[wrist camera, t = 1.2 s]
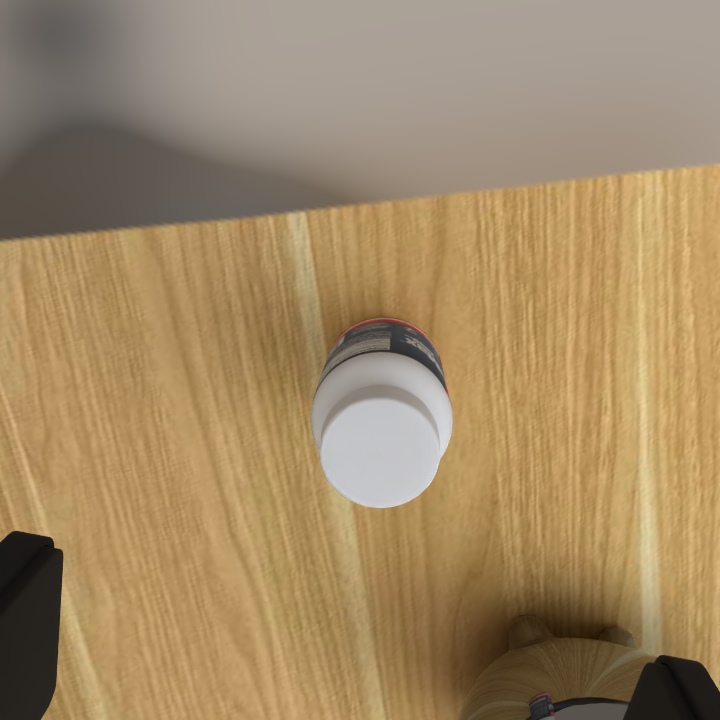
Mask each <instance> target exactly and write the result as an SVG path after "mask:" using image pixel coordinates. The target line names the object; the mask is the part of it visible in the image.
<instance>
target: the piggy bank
mask: <svg viewBox="0 0 720 720" xmlns="http://www.w3.org/2000/svg"><path fill="white" fill-rule="evenodd" d="M508 638H509V646H510V651H509V652H507V653H505V654H504V655H502V656H501V657H499V658H498V659H496V660H495V661H494V662H493V663H491V664H490V665H489V666H488V667H487V668H486V669H485V670H484V671H483V672H482V673H481V675H480V676H479V677H478V678H477V680H476V681H475V682H474V684H473V685H472V687H471V689H470V690H469V692H468V694H467V696H466V698H465V700H464V702H463V704H462V706H461V709H460V711H459V714H458V717H457V720H623V718H624V715H625V713H626V710H627V708H628V705H629V703H630V700H631V698H632V695H633V693H634V690H635V687H636V685H637V682H638V680H639V677H640V675H641V672H642V670H643V668H644V666H645V665H646V664H647V663H650V662H651V663H654V662H655V660H656V658H658V657H656V656H654V655H652V654H649V653H647V652H644V651H642V650H639V647H638V645H637V643H636V641H635V639H634V638H633V636H632V634H631V633H629V632H628V631H627V630H624V629H621V628H610V629H607V630H606V631H604V632H603V633H602V634H601V635H600V637H599V639H598V640H596V639H587V638H555V637H554V636H553V634H552V633H551V632H550V631H549V630H548V628H547V627H546V626H545V625H544V624H543V623H542V622H541V621H540V620H539V619H537V618H536V617H534V616H531V615H522V616H518V617H517V618H515V619H514V620H513V621H512V622H511V624H510V626H509V629H508Z"/></svg>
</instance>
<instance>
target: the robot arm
mask: <svg viewBox="0 0 720 720" xmlns="http://www.w3.org/2000/svg"><path fill="white" fill-rule="evenodd" d="M62 573H63V552H62V550H61V549H57V548H54V542H53V539H52V538H50V537H46V536H41V535H36V534H30V533H25V532H20V531H13V532H11V533H10V534H9V535H7V536H6V537H5V538H4V539H3V540H2V541H1V542H0V720H41V718H42V717H43V715H44V713H45V712H46V710H47V708H48V707H49V705H50V702H51V700H52V697H53V694H54V691H55V687H56V678H57V660H58V643H59V625H60V608H61V590H62ZM623 720H720V692H719V690H718V688H717V687H716V685H715V683H714V682H713V680H712V678H711V677H710V675H709V673H708V672H707V670H706V669H705V667H704V666H703V665H702V664H701V663H699V662H697V661H692V660H687V659H682V658H677V657H671V656H666V655H661V656H659V657H658V658H656V660H655V662H654V663H651V662H650V663H647V664H646V665H645V666H644V668H643V670H642V672H641V675H640V677H639V680H638V682H637V685H636V687H635V690H634V693H633V695H632V698H631V700H630V703H629V705H628V708H627V710H626V713H625V715H624V718H623Z"/></svg>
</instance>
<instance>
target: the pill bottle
mask: <svg viewBox="0 0 720 720" xmlns="http://www.w3.org/2000/svg"><path fill="white" fill-rule="evenodd" d="M311 425H312V431H313V436H314V439H315V442H316V444H317V447H318V449H319V455H320V462H321V466H322V469H323V472H324V474H325V476H326V478H327V480H328V481H329V483H330V484H331V485H332V486H333V488H334V489H335V490H336V491H337V492H338V493H340V494H341V495H342V496H344V497H345V498H347V499H348V500H350V501H352V502H355V503H356V504H359V505H363V506H367V507H373V508H388V507H394V506H398V505H401V504H404V503H407V502H408V501H410V500H412V499H414V498H416V497H417V496H419V495H420V494H421V493H422V492H423V491H424V490H425V489H426V488H427V487H428V486H429V484H430V483H431V482H432V480H433V478H434V477H435V474H436V472H437V469H438V466H439V461H440V459H441V457H442V456H443V454H444V452H445V451H446V449H447V446H448V444H449V441H450V437H451V433H452V425H453V418H452V408H451V403H450V399H449V395H448V391H447V387H446V382H445V378H444V373H443V368H442V364H441V360H440V357H439V354H438V352H437V350H436V348H435V346H434V345H433V343H432V342H431V340H430V339H429V338H428V337H427V336H426V335H425V334H424V333H423V332H422V331H421V330H420V329H418V328H417V327H415V326H414V325H412V324H410V323H408V322H405V321H402V320H399V319H394V318H374V319H369V320H365V321H362V322H360V323H358V324H356V325H354V326H352V327H351V328H349V329H348V330H347V331H345V332H344V333H343V334H342V335H341V336H340V337H339V338H338V340H337V341H336V342H335V344H334V345H333V347H332V349H331V351H330V353H329V355H328V358H327V361H326V364H325V366H324V369H323V372H322V375H321V378H320V381H319V384H318V387H317V390H316V393H315V396H314V400H313V406H312V413H311Z"/></svg>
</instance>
